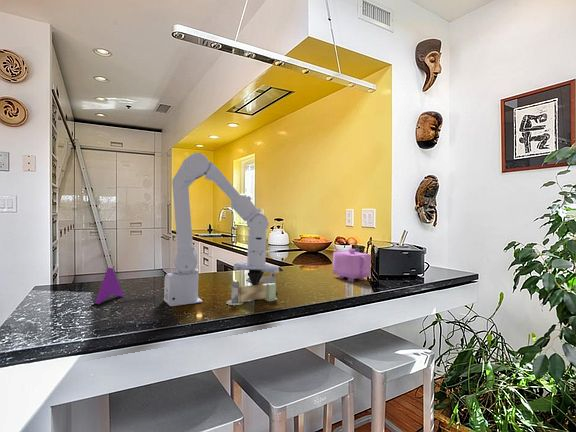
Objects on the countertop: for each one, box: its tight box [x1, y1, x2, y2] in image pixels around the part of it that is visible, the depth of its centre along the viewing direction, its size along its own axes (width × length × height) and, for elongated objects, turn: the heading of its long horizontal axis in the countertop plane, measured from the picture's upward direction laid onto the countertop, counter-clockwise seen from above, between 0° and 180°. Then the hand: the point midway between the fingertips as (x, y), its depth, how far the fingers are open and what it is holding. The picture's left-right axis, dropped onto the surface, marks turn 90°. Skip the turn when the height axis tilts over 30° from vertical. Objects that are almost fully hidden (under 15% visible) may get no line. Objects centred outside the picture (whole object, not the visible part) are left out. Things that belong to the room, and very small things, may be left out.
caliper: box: [246, 272, 277, 285], centre depth 124 cm, size 20×1×6 cm, turn 35°
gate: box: [238, 283, 271, 302], centre depth 104 cm, size 11×2×4 cm, turn 123°
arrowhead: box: [94, 267, 125, 305], centre depth 100 cm, size 10×2×10 cm
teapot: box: [332, 248, 372, 282], centre depth 142 cm, size 20×10×12 cm, turn 32°
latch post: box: [264, 283, 278, 302], centre depth 105 cm, size 3×2×5 cm
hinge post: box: [225, 280, 244, 307], centre depth 100 cm, size 5×5×7 cm
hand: (255, 293), depth 106 cm, fingers closed, pressing on gate
